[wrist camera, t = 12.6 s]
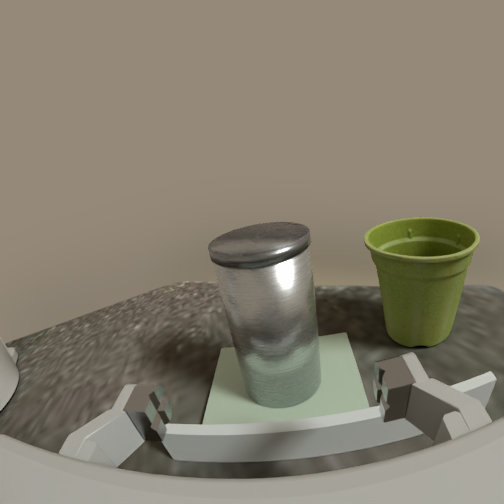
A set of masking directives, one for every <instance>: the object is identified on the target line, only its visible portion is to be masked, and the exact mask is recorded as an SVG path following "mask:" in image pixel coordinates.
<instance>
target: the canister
mask: <svg viewBox="0 0 504 504" xmlns="http://www.w3.org/2000/svg"><path fill="white" fill-rule="evenodd" d="M310 243H311V239H310V231H309V229H308V227H306V226H304V225H302V224H298V223H291V222H273V223H263V224H257V225H252V226H247V227H243V228H240V229H236V230H233V231H230V232H228V233H225V234H223V235H221V236H219V237H217V238H216V239H214V240H213V241H212V242H211V243H210V244H209V246H208V249H209V253H210V258H211V260H212V262H213V263H214V267H215V272H216V276H217V280H218V284H219V288H220V293H221V297H222V301H223V305H224V309H225V313H226V317H227V321H228V325H229V329H230V333H231V336H232V340H233V344H234V348H235V352H236V356H237V359H238V363H239V367H240V371H241V374H242V378H243V382H244V385H245V389H246V392H247V394H248V396H249V397H250V398H251V399H252V400H253V401H254V402H256V403H257V404H259V405H261V406H264V407H268V408H289V407H293V406H296V405H299V404H301V403H303V402H305V401H307V400H308V399H310V398H311V397H312V396H313V395H314V394H315V393H316V392H317V390H318V389H319V387H320V384H321V363H320V349H319V336H318V323H317V312H316V301H315V291H314V282H313V272H312V263H311V254H310Z"/></svg>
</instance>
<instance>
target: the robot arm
mask: <svg viewBox="0 0 504 504" xmlns="http://www.w3.org/2000/svg"><path fill="white" fill-rule="evenodd" d="M17 359H18V353H17V352H16V350H15V349H14V348H7V347H6V346H5V344H4V342H3V341H2V339H1V337H0V411H1V410H2V409H3V407H4V406H5V405H6V404H7V402H8V401H9V400H10V398H11V396H12V395H13V393H14V391H15V389H16V387H17V384H18V380H19V372H18V369H17V367H16V362H17ZM374 371H375V374H376V376H375V377H374V378H373V387H374V394H375V398H376V401H377V402H378V403H380V408H379V411H380V414H381V417H382V420H383V423H385V422H389V421H394V420H398V419H402V418H405V419H406V420H407V421H409V422H410V423H411V424H412V425H414V426H415V427H416V428H418V429H419V430H420V431H422V432H423V433H424V434H426V435H427V436H428V437H430V438H431V439H432V440H434V443H433V445H432V447H429V448H426V449H423V450H420V451H416V452H413V453H410V454H406V455H403V456H399V457H396V458H392V459H388V460H384V461H380V462H376V463H371V464H367V465H362V466H357V467H352V468H347V469H341V470H335V471H329V472H323V473H315V474H307V475H299V476H288V477H275V478H256V479H210V478H190V477H177V476H167V475H158V474H150V473H143V472H136V471H130V470H124V469H119V468H117V467H118V466H119V465H120V464H121V463H122V462H123V461H124V460H125V459H127V458H128V457H129V456H130V455H131V454H132V453H133V452H134V451H135V450H136V449H137V448H138V447H139V446H140V445H141V444H142V443H143V442H144V440H147V441H163V440H164V437H165V434H166V431H167V428H166V426H165V425H166V424H167V423H168V422H170V419H171V416H172V408H171V404H170V402H169V400H168V399H167V398H165V397H164V396H163V395H164V390H163V388H162V386H160V385H144V384H127V385H125V386H124V388H123V390H122V392H121V393H120V395H119V397H118V399H117V401H116V402H115V404H114V406H113V408H112V410H107V411H106V412H104V413H103V414H101V415H100V416H98V417H97V418H95V419H94V420H92V421H90V422H89V423H87V424H86V425H84V426H83V427H81V428H80V429H78V430H76V431H75V432H73V433H72V434H70V435H69V436H68V438H67V440H66V441H65V443H64V445H63V446H62V448H61V450H60V451H59V453H58V454H57V453H54V452H50V451H47V450H44V449H41V448H38V447H35V446H32V445H30V444H27V443H24V442H22V441H19V440H16V439H14V438H12V437H9V436H7V435H0V504H504V417H502V418H500V419H498V420H496V421H494V422H492V420H491V419H490V417H489V415H488V414H487V412H486V410H485V408H484V407H483V405H482V404H481V402H480V400H477V399H475V398H473V397H471V396H469V395H467V394H465V393H462V392H460V391H458V390H456V389H454V388H452V387H450V386H448V385H446V384H444V383H442V382H439V381H437V380H435V379H433V378H432V379H429V378H428V376H427V374H426V372H425V371H424V369H423V367H422V365H421V364H420V362H419V360H418V359H417V357H416V355H415V353H413V352H411V353H408V354H404V355H400V356H397V357H393V358H389V359H384V360H380V361H376V362H375V364H374Z"/></svg>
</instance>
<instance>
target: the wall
mask: <svg viewBox="0 0 504 504" xmlns="http://www.w3.org/2000/svg"><path fill="white" fill-rule="evenodd" d="M496 380H497V379H496V377H495V376H494V375H493V373H492V372H491V371H490V372H488V373H485V374H483V375H480V376H477V377H475V378H472V379H469V380H466V381H464V382H461V383H458V384H455V385H452V386H450V387H452V388H454V389H456V390H458V391H460V392H462V393H465V394H467V395H469V396H471V397H473V398H475V399H477V400H480V402H481V404H482V405H483V407H484V408H485V407H486V404H487V402H488V400H489V397H490V395H491V393H492V390H493V388H494V385H495V382H496ZM379 408H380V406H375V407H370V408H366V409H361V410H355V411H350V412H345V413H339V414H333V415H326V416H319V417H312V418H304V419H296V420H286V421H276V422H263V423H247V424H215V425H196V424H166V425H165V426H166V428H167V431H166V434H165V437H164V440H163V441H162V443H163V445H164V446H165V448H166V449H167V451H168V452H169V454H170V455H171V457H172V458H173V459H174V460H181V461H198V462H261V461H278V460H290V459H300V458H309V457H317V456H325V455H331V454H338V453H344V452H349V451H355V450H360V449H365V448H370V447H374V446H379V445H383V444H387V443H391V442H395V441H399V440H403V439H407V438H410V437H414V436H417V435H420V434H424V433H423V432H422V431H420V430H419V429H418V428H416V427H415V426H414V425H412V424H411V423H410V422H409V421H407V420H406V419H405V418H402V419H398V420H394V421H389V422H385V423H383V420H382V417H381V414H380V411H379Z"/></svg>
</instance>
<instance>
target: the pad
mask: <svg viewBox="0 0 504 504" xmlns="http://www.w3.org/2000/svg"><path fill="white" fill-rule="evenodd" d="M319 349H320V363H321V384H320V387H319V389H318V390H317V392H316V393H315V394H314V395H313V396H312V397H311V398H310V399H308V400H307V401H305V402H303V403H301V404H299V405H296V406H293V407H289V408H268V407H264V406H261V405H259V404H257V403H256V402H254V401H253V400H252V399H251V398H250V397H249V396H248V394H247V392H246V389H245V385H244V382H243V378H242V374H241V371H240V367H239V363H238V359H237V356H236V352H235V348H234V347H229V348H221V351H220V355H219V359H218V363H217V367H216V371H215V375H214V379H213V383H212V387H211V391H210V395H209V399H208V403H207V407H206V411H205V415H204V419H203V423H202V425H215V424H247V423H263V422H276V421H286V420H296V419H304V418H312V417H319V416H326V415H333V414H339V413H345V412H350V411H355V410H361V409H366V408H369V404H368V401H367V397H366V394H365V391H364V387H363V384H362V381H361V377H360V374H359V371H358V368H357V364H356V361H355V358H354V355H353V352H352V349H351V346H350V343H349V339H348V336H347V333H346V332H345V333H339V334H333V335H326V336H320V337H319Z"/></svg>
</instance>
